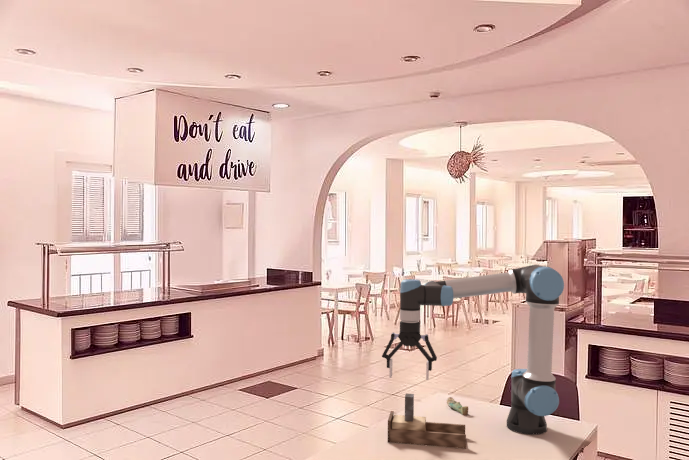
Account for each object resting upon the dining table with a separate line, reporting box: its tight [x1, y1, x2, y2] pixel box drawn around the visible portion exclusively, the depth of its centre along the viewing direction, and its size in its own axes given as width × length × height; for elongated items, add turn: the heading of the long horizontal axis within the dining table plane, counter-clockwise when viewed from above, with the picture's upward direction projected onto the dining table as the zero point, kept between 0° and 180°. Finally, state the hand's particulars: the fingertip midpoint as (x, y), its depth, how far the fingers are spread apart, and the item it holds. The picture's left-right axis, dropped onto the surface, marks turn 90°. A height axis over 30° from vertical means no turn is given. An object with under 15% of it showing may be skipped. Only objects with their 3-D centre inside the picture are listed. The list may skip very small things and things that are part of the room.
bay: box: [387, 410, 467, 450], centre depth 207 cm, size 28×11×8 cm, turn 79°
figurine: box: [446, 396, 469, 416], centre depth 242 cm, size 6×15×4 cm, turn 9°
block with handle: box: [392, 393, 427, 431], centre depth 208 cm, size 12×8×15 cm
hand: (408, 378), depth 208 cm, fingers open, 13 cm apart
